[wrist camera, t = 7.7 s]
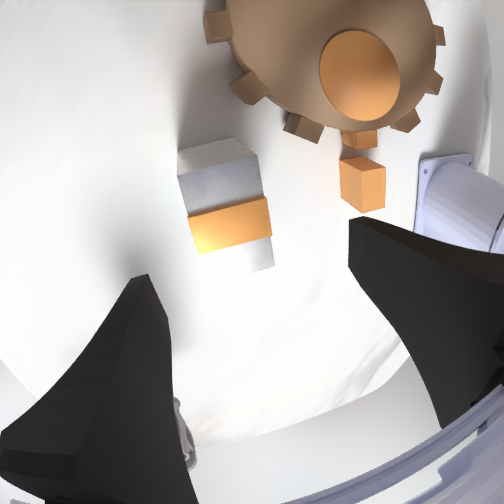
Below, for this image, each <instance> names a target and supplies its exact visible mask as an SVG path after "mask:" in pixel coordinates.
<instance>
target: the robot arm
mask: <svg viewBox="0 0 504 504" xmlns="http://www.w3.org/2000/svg"><path fill="white" fill-rule="evenodd" d="M472 162H473V156H472V155H471V154H469V153H467V154H459V155H451V156H444V157H437V158H430V159H424V160H422V161H421V162H420V167H419V187H418V200H417V211H416V221H415V230H414V232H412V231H409V230H406V229H403V228H400V227H397V226H395V225H392V224H389V223H386V222H383V221H380V220H376V219H373V218H369V217H365V216H362V217H358V218H354V219H350V220H349V255H348V267H349V268H350V270H351V272H352V273H353V275H354V277H355V278H356V280H357V282H358V283H359V285H360V286H361V288H362V289H363V290H364V291H365V293H366V294H367V295H368V296H369V298H370V299H371V300H372V301H373V303H374V304H375V305H376V306H377V308H378V309H379V310H380V311H381V313H382V314H383V315H384V316H385V318H386V319H387V320H388V321H389V323H390V324H391V325H392V326H393V328H394V329H395V331H396V332H397V333H398V335H399V336H400V338H401V340H402V341H403V343H404V345H405V346H406V348H407V350H408V352H409V353H410V355H411V357H412V359H413V361H414V362H415V365H416V366H417V369H418V370H419V372H420V375H421V377H422V379H423V381H424V383H425V386H426V388H427V390H428V393H429V395H430V398H431V400H432V403H433V406H434V408H435V411H436V414H437V418H438V421H439V424H440V427H441V428H442V430H441V431H439V432H438V433H436V434H435V435H433V436H432V437H430V438H429V439H427V440H425V441H424V442H422V443H421V444H419V445H417V446H416V447H414V448H412V449H411V450H409V451H408V452H405V453H404V454H402V455H400V456H398V457H396V458H394V459H393V460H391V461H389V462H387V463H385V464H383V465H381V466H379V467H377V468H375V469H373V470H371V471H369V472H366V473H364V474H362V475H360V476H358V477H355V478H353V479H351V480H349V481H346V482H344V483H341V484H339V485H336V486H333V487H331V488H328V489H325V490H323V491H320V492H317V493H314V494H311V495H309V496H305V497H302V498H299V499H296V500H292V501H289V502H285V503H282V504H355V503H358V502H360V501H362V500H364V499H366V498H369V497H371V496H373V495H375V494H377V493H379V492H381V491H383V490H385V489H387V488H389V487H391V486H393V485H395V484H397V483H398V482H400V481H402V480H404V479H406V478H407V477H409V476H411V475H413V474H414V473H416V472H417V471H419V470H421V469H423V468H424V467H426V466H427V465H429V464H430V463H432V462H433V461H435V460H437V459H438V458H439V457H441V456H442V455H444V454H445V453H447V452H448V451H450V450H451V449H452V448H454V447H455V446H456V445H458V444H459V443H460V442H462V441H463V440H464V439H466V438H467V437H468V436H470V434H472V433H473V432H474V431H476V430H477V429H478V428H479V429H478V431H477V438H476V439H474V440H473V441H472V442H471V443H470V444H468V445H467V446H466V447H465V448H463V449H462V450H461V451H460V452H459V453H457V454H456V455H455V456H454V457H453V458H451V459H450V460H448V461H447V462H446V463H444V464H443V465H441V466H440V467H439V468H438V473H439V474H440V476H441V478H442V481H440V482H439V483H437V484H436V485H434V486H432V487H431V488H429V489H428V490H426V491H424V492H423V493H421V494H419V495H418V496H416V497H414V498H413V499H411V500H409V501H407V502H405V503H404V504H504V184H502V183H500V182H498V181H496V180H495V179H493V178H491V177H489V176H487V175H485V174H482V173H480V172H478V171H476V170H474V169H472ZM424 170H425V171H424ZM0 476H1V477H2V478H3V479H4V480H6V481H7V482H9V483H11V484H12V485H14V486H16V487H18V488H20V489H22V490H24V491H26V492H28V493H30V494H32V495H34V496H36V497H38V498H41V499H43V500H45V504H199V503H198V500H197V498H196V494H195V491H194V489H193V486H192V483H191V479H190V476H189V473H188V469H187V466H186V462H185V458H184V454H183V450H182V446H181V442H180V437H179V433H178V428H177V422H176V417H175V411H174V403H173V388H172V354H171V337H170V330H169V323H168V317H167V315H166V313H165V311H164V309H163V307H162V304H161V302H160V300H159V298H158V296H157V293H156V291H155V289H154V287H153V284H152V282H151V280H150V278H149V275H148V274H145V275H142V276H138V277H135V278H131V280H130V281H129V282H128V284H127V285H126V287H125V288H124V290H123V292H122V293H121V295H120V296H119V298H118V299H117V301H116V303H115V304H114V306H113V307H112V309H111V311H110V312H109V314H108V315H107V317H106V318H105V320H104V321H103V323H102V324H101V326H100V327H99V329H98V330H97V332H96V333H95V335H94V336H93V338H92V339H91V341H90V342H89V343H88V345H87V346H86V348H85V349H84V350H83V352H82V353H81V354H80V355H79V357H78V358H77V359H76V360H75V362H74V363H73V364H72V365H71V367H70V368H69V369H68V370H67V371H66V372H65V373H64V374H63V376H62V377H61V378H60V379H59V380H58V381H57V382H56V383H55V384H54V386H53V387H52V388H51V389H50V390H49V391H48V392H47V393H46V394H45V395H44V396H43V397H42V398H41V399H40V400H39V401H38V402H36V403H35V404H34V405H33V406H32V407H31V408H30V409H29V410H28V411H26V412H25V413H24V414H23V415H22V416H20V417H19V418H18V419H17V420H15V421H14V422H13V423H12V424H10V425H9V426H8V427H7V428H5V429H4V430H3V431H1V435H0ZM11 504H29V503H25V502H21V501H18V500H14V499H12V500H11Z"/></svg>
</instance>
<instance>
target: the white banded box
mask: <svg viewBox="0 0 504 504" xmlns="http://www.w3.org/2000/svg"><path fill="white" fill-rule="evenodd" d="M177 178H178V181H179V185H180V189H181V192H182V196H183V199H184V203H185V206H186V210H187V213H188V216H187V218H188V222H189V225H190V229H191V232H192V235H193V239H194V242H195V245H196V249H197V252H198V255H200V257H201V260H202V263H203V266H204V269H205V273H206V276H207V279H208V282H209V284H212V283H216V282H220V281H223V280H227V279H230V278H234V277H238V276H241V275H245V274H248V273H252V272H255V271H259V270H263V269H266V268H270V267H273V266H275V263H274V257H273V250H272V244H271V237H270V236H272V230H271V223H270V217H269V211H268V204H267V198H266V197H265V196H264V193H263V187H262V181H261V175H260V169H259V163H258V158H257V155H256V154H254V153H253V152H252V151H251V150H249V149H248V148H247V147H246V146H244V145H243V144H242V143H240V142H239V141H238V140H237V139H235V138H234V137H231V138H227V139H223V140H218V141H214V142H210V143H206V144H202V145H198V146H194V147H190V148H186V149H183V150H179V151H177Z"/></svg>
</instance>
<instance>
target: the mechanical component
mask: <svg viewBox="0 0 504 504" xmlns="http://www.w3.org/2000/svg"><path fill="white" fill-rule="evenodd" d="M172 388H173V385H172ZM173 403H174V411H175V417H176V422H177V428H178V433H179V437H180V442H181V446H182V450H183V454H184V458H185V462H186V466H187V469H188V471H190V470H191V469H193V468H194V467H195V465H196V463H197V458H196V452H195V446H194V441H193V438H192V434H191V432H190V430H189V428H188V427H187V425H186V423H185V421H184V420H183V418H182V416H181V414H180V412H179V406H180V401H179V400H178V399H177V398H176V397H174V396H173Z"/></svg>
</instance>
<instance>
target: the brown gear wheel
mask: <svg viewBox="0 0 504 504" xmlns="http://www.w3.org/2000/svg"><path fill="white" fill-rule="evenodd" d="M203 25H204V30H205V35H206V40H207V44H211V43H217V42H223V41H229V44H230V47H231V49H232V51H233V54H234V56H235V58H236V60H237V61H238V63H239V65H240V67H241V68H242V70H243V71H244V73H243V74H242V75H241V76H239V77H238V78H237V79H235V80H234V81H233V82H232V83H230V84H229V86H230V87H231V88H232V90H233V91H234V92H235V93H236V94H237V95H238V96H239V97H240V99H241V100H242V101H243V102H244V103H245V104H248V105H254V104H255V103H257V102H258V101H259V100H260V99H262V98H263V97H264V96H266V97H268V98H269V99H270V100H271V101H272V102H274V103H275V104H277V105H278V106H280V107H281V108H283V109H284V110H286V111H287V112H289V116H288V118H287V121H286V123H285V126H284V128H283V130H284V131H286V132H289V133H291V134H294V135H296V136H299V137H301V138H304V139H306V140H309V141H311V142H313V143H316V144H317V143H318V141H319V139H320V136H321V134H322V131H323V129H324V126H327V127H332V128H336V129H340V130H341V131H342V144H345V145H347V146H350V147H352V148H355V149H357V150H360V149H367V148H374V147H377V130H376V129H379V128H382V127H385V126H388V125H390V127H391V128H392V129H396V130H399V131H402V132H406V133H409V132H410V131H411V130H412V129H413V128H414V127H415V126H417V125H418V124H419V123H420V122H421V121H420V119H419V116H418V114H417V112H416V110H415V107H416V105H417V104H418V103H419V101H420V100H421V99H422V97H423V96H424V94H425V93H428V94H434V95H438V94H439V91H440V88H441V85H442V81H443V78H442V77H441V76H440V75H439V74H438V73H437V72H436V71H435V70H434V67H435V59H436V45H439V46H446V43H445V36H444V30H443V27H441V26H437V25H434V24H433V23H432V19H431V16H430V13H429V10H428V8H427V6H426V4H425V1H424V0H225V1H224V10H221V11H214V12H207V13H206V14H205V17H204V19H203ZM290 113H291V114H290ZM323 125H324V126H323Z"/></svg>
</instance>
